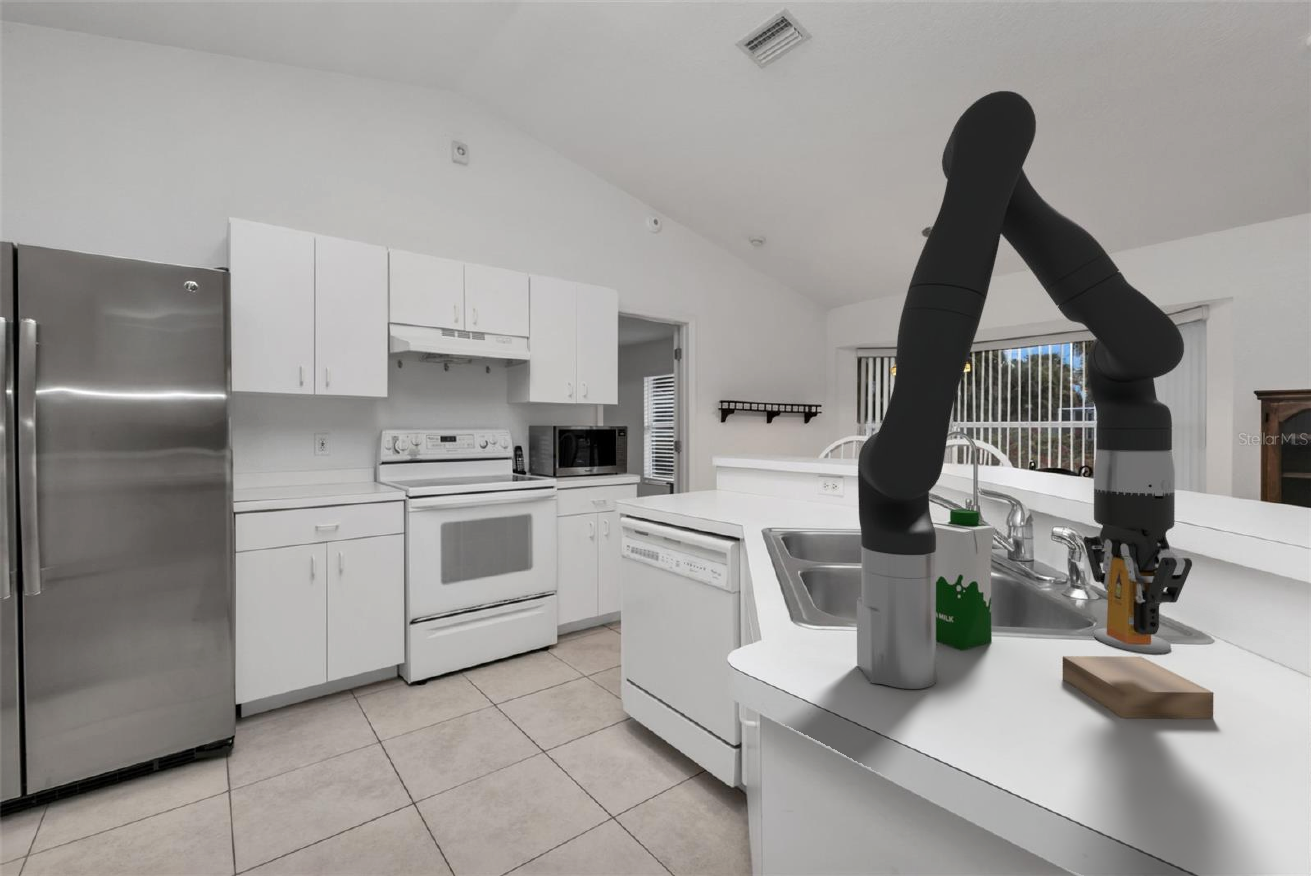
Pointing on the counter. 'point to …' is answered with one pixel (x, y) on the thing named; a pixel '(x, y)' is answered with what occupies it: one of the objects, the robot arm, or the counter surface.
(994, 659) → the counter surface
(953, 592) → the milk carton
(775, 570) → the counter surface
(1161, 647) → the grey coaster
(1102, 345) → the robot arm
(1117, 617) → the supplement box
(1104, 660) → the walnut plinth
